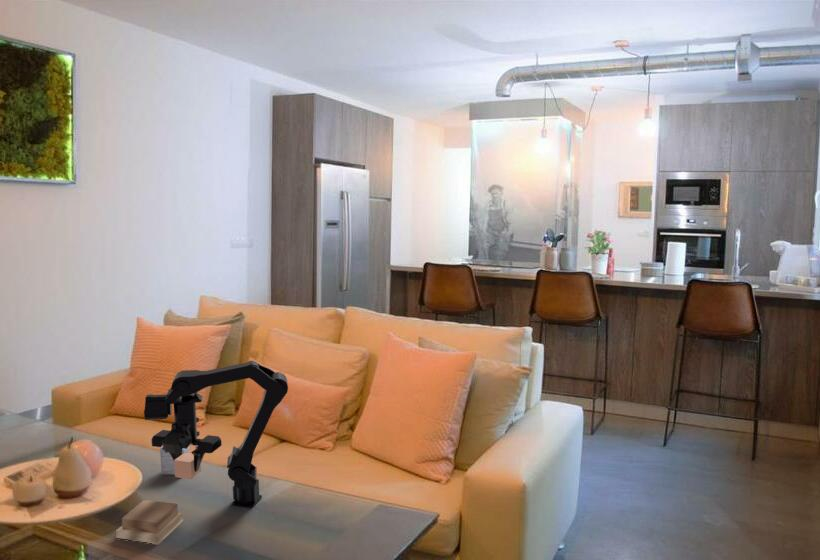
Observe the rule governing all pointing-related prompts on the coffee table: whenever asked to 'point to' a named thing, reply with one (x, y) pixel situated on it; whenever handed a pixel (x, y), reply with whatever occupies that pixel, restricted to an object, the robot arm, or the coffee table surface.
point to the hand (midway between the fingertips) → (187, 470)
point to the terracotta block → (185, 466)
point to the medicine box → (169, 461)
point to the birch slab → (150, 537)
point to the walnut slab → (150, 516)
